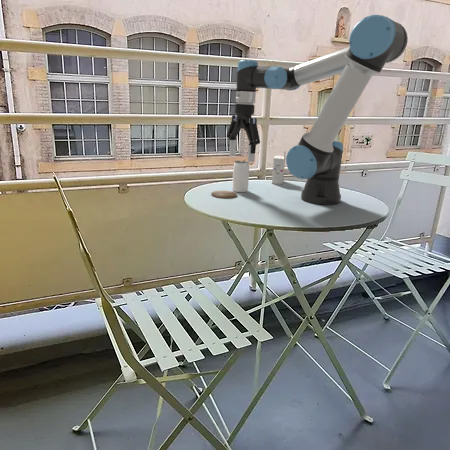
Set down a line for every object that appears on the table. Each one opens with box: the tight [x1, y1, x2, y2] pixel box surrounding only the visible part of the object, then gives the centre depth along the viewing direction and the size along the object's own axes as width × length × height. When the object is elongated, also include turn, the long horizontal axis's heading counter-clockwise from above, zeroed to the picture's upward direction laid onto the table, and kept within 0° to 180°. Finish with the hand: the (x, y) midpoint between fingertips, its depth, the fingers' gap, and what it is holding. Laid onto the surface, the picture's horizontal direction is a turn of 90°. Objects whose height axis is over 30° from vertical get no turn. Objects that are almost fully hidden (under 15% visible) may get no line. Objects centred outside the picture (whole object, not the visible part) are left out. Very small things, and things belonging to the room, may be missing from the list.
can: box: [231, 160, 250, 194], centre depth 160 cm, size 6×6×12 cm
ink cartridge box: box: [271, 149, 287, 185], centre depth 179 cm, size 9×5×15 cm, turn 168°
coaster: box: [211, 190, 238, 199], centre depth 153 cm, size 10×10×1 cm
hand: (241, 158), depth 158 cm, fingers open, 13 cm apart
